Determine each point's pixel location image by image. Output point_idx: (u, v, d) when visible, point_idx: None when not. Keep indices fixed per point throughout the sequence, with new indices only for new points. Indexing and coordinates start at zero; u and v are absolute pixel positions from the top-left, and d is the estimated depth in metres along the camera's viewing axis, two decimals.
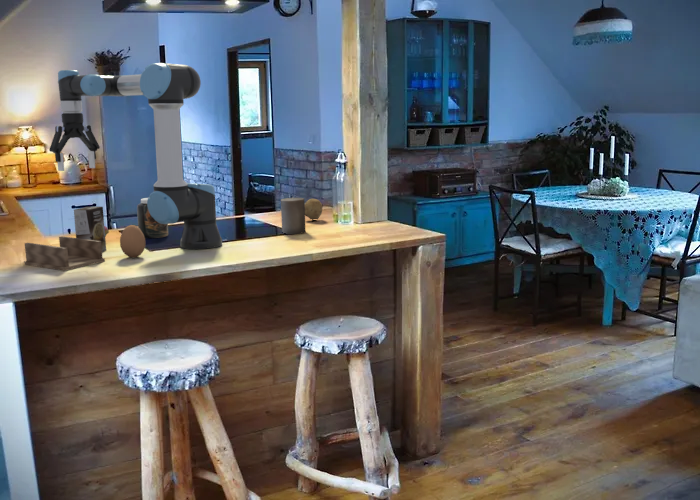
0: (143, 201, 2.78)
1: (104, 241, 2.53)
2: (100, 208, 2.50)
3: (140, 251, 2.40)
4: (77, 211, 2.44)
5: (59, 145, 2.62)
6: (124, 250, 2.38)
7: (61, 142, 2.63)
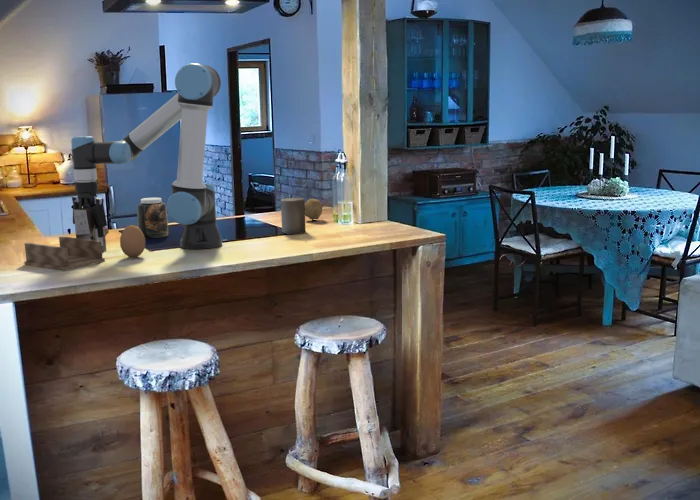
0: (143, 201, 2.78)
1: (104, 241, 2.53)
2: None
3: (140, 251, 2.40)
4: (77, 211, 2.44)
5: None
6: (124, 250, 2.38)
7: None
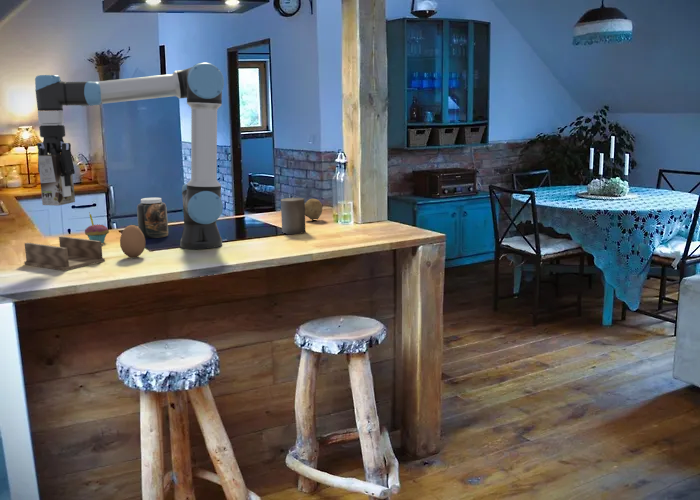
0: (143, 201, 2.78)
1: (72, 192, 2.33)
2: None
3: (140, 251, 2.40)
4: (42, 157, 2.24)
5: None
6: (124, 250, 2.38)
7: None
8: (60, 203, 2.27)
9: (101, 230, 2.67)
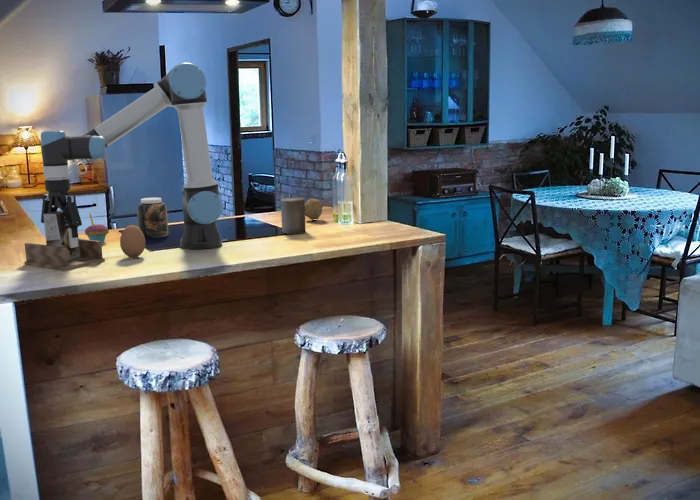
0: (143, 201, 2.78)
1: (78, 247, 2.37)
2: None
3: (140, 251, 2.40)
4: (47, 215, 2.28)
5: None
6: (124, 250, 2.38)
7: None
8: None
9: (101, 230, 2.67)
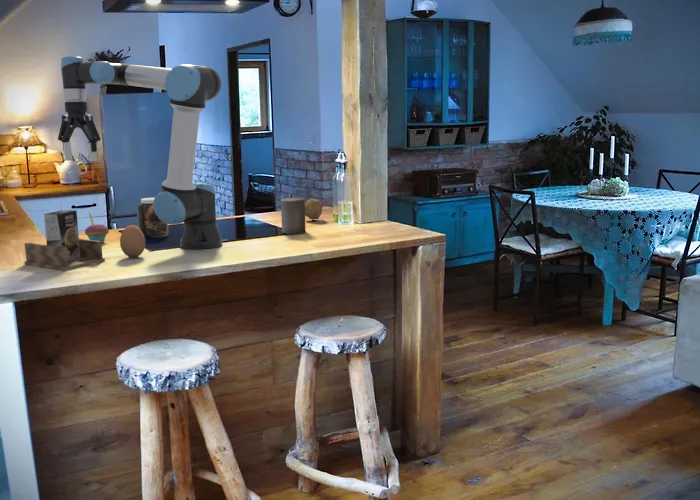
0: (143, 201, 2.78)
1: (78, 247, 2.37)
2: (73, 212, 2.34)
3: (140, 251, 2.40)
4: (47, 215, 2.28)
5: None
6: (124, 250, 2.38)
7: None
8: None
9: (101, 230, 2.67)
